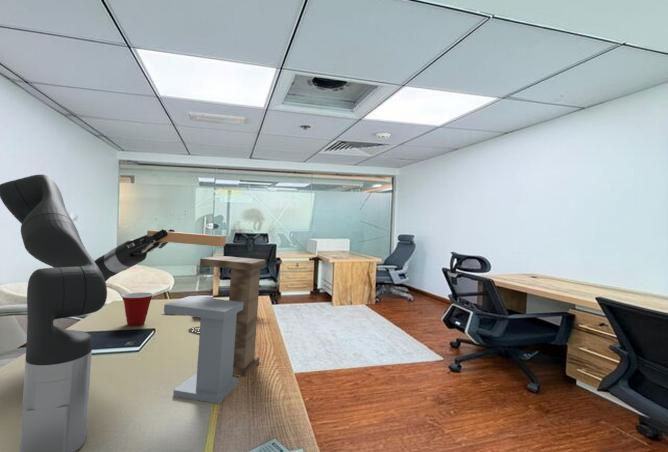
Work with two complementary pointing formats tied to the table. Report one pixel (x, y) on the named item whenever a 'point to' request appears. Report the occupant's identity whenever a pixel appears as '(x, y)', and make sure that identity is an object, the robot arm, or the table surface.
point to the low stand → (210, 347)
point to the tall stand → (246, 291)
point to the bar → (191, 238)
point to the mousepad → (194, 330)
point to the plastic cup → (136, 307)
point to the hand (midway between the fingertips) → (169, 232)
